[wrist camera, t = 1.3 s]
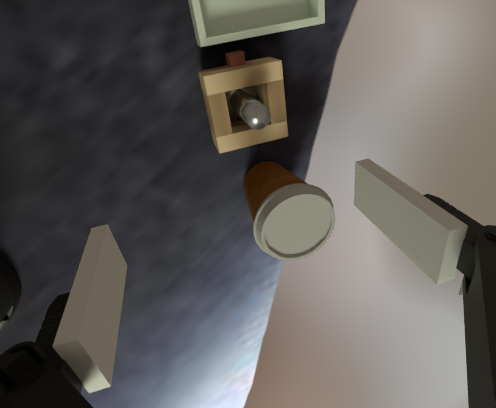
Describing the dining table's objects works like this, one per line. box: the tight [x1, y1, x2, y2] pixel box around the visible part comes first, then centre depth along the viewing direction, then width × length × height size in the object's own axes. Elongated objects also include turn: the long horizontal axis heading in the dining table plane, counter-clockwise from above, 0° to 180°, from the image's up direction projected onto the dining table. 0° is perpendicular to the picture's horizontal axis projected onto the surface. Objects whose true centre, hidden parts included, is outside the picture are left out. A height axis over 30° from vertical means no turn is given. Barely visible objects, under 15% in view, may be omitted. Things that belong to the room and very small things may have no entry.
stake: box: [225, 85, 271, 130], centre depth 34 cm, size 7×7×9 cm
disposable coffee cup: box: [243, 161, 335, 261], centre depth 40 cm, size 10×10×12 cm
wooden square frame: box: [198, 50, 288, 153], centre depth 35 cm, size 8×9×4 cm
